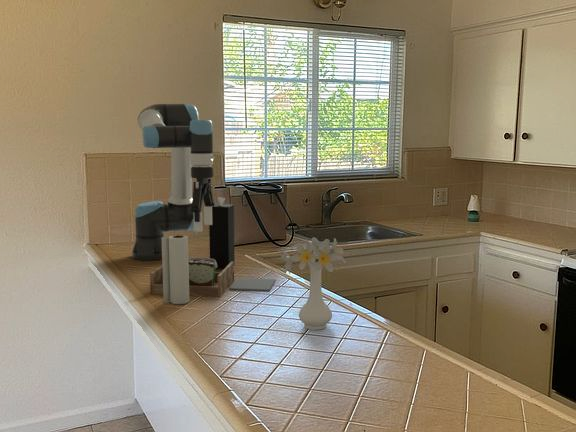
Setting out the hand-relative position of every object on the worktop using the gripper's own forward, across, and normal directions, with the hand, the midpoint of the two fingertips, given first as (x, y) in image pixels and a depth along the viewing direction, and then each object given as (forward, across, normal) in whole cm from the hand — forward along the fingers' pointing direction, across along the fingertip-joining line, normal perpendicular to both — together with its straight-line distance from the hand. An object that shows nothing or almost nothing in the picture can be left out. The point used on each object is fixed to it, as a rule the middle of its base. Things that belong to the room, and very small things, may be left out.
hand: (203, 228), depth 209 cm
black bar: (+21, +30, +1) cm, 37 cm away
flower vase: (+21, -37, -41) cm, 59 cm away
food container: (+21, 0, 0) cm, 21 cm away
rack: (+21, 0, +4) cm, 21 cm away
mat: (+21, +5, -16) cm, 27 cm away
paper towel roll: (+21, -18, +4) cm, 28 cm away
